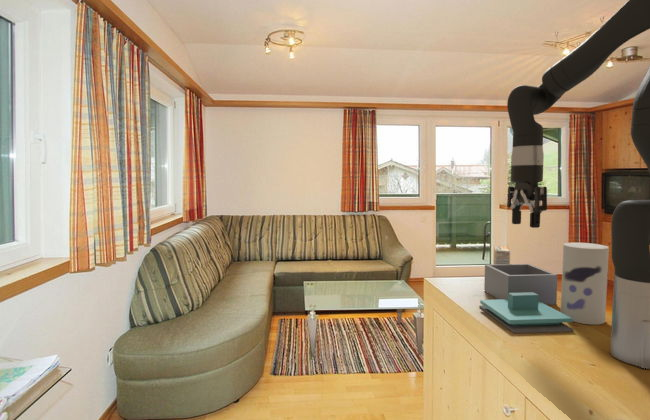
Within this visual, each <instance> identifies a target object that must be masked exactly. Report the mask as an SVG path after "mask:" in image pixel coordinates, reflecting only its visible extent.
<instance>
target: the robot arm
mask: <svg viewBox="0 0 650 420" xmlns="http://www.w3.org/2000/svg"><path fill="white" fill-rule="evenodd" d="M649 30H650V0H627V1H626V2H625V3H624V4H623V5H622V6H621V7H620V8H619V9H618V10H617V11H616V12H615V13H614V14H613V15H612V16H610V17H609V18H608V19H607V20H606V21H605V22H604V23H603V24H601V26H600V27H599V28H598V29H597V30H596V31H595V32H593V33H592V34H591V35H590V36H589V37H588V38H586V40H585V41H583V42H582V43H581V44H579V46H577V47H576V48H575V49H573V50H572V51H571V52H569V53H567V55H565V56H564V57H563V58H561V59H560V60H559V61H557V62H556V63H554V64H553V65H552V66H550V67H549V68H548V69H547V70H546V71H545V72H544V73H543V74H542V78H541V84H539V85H537V86H532V85H529V84H528V85H526V84H522V85H517V86H516V87H513V89H512V90H511V91H510V93H509V96H508V97H507V98H508V99H507V101H506V102H507V103H506V108H507V112H508V113H507V114H508V117H509V120H510V126H511V128H512V133H513V134H512V151H511V157H510V159H511V160H510V182H511V183H514V184H515V185H511V186H508V188H507V198H506V199H507V203H506V204H507V205H506V207H507V208H509V209H510V210H511V224H512V225H520V224H522V208H523V206H524V205H525V206H527V207H528V209H529V211H530V213H529V227H530V228H533V229H534V228H535V229H537V228H539V227H540V226H541V214H542V213H543V212H545V211H547V210H548V188H547V186H539V183H542V182H543V180H544V146H543V145H544V127H543V125H541V124H540V123H538V122H537V121H536V120H535V116H537V115H540V114H542V113H544V112H546V111H548V110H549V109H550V108H551V107H552V106H553V105H555V103H557V102H558V101H559V100H560V98H562V97H563V95H565V93H568V91H570V90H571V89H573V88H574V87H577V86H579V84H581V83H582V82H584V81H585V80H587V79H588V78H590V77H591V76H592V75H593V74H594V73H596V72H597V71H598V70H599V69H600V67H601V66H602V65H603V64H604V63H605V62H606V61H607V60H608V58H609V57H610V56H611V55H612V54H613V53H614V52H615V51H616V50H618V49H619V48H620V47H621V46H622V45H624V44H625V43H627V42H628V41H630V40H631V39H633V38H635V37H637V36H638V35H640V34H642V33H643V32H646V31H649ZM630 137H631V140H632V142H633V145H634V146H635V149H636V151H637V152H638V154H639V156H640V157H641V159H642V160H643V162H644V163H645V166H646V167H647V170H648V173H649V174H650V65H649V67H648V70H647V72H646V73H645V76H644V78H643V79H642V81H641V83H640V85H639V87H638V89H637V92H636V94H635V97H634V99H633V104H632V109H631V122H630ZM610 225H611V227H610V228H611V229H610V231H611V232H610V233H611V235H610V236H611V240H610V241H611V259H612V263H613V266H614V273H613V274H614V276H613V278H614V279H613V292H612V293H613V295H612V313H611V329H610V351H609V353H610V354H611V356H612V357H614V358H616V359H617V360H618V361H621V362H624V363H625V364H629V365H633V366H636V367H638V366H639V368H640V367H641V368H640V369H642V368H644V370H645V368H646V369H648V370H649V369H650V199H631V200H630V199H629V200H625V201H622V202H620V203H618V205H616V207H615V208H614V210H613V214H612V216H611V224H610Z"/></svg>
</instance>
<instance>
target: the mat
mask: <svg viewBox="0 0 650 420" xmlns="http://www.w3.org/2000/svg"><path fill="white" fill-rule="evenodd" d="M478 306H479V309H481V310H482V311H483V312H485V313H486V314H488V316H489V317H492V318H493V320H494V319H495V321H497V322H499V324H501V325H503V326H504V327H505V328H506V329H508V330H509V331H511V332H512V333H513V334H534V333H535V334H536V333H540V334H541V333H569V332H570V333H573V332H575V331H574V328H572V327H571V326H569V325H566V324H565V323H564V322H562V323H559V324H551V325H516V326H513V325H511V324H509V323H507V322H506V321H505V320H503V319H502V318H500V317H499V316H497V315H496V314H495V313H493V312H492V311H490V310H489V309H488V308H486V307H485V306H483V305H482V304H481V305H478Z"/></svg>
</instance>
